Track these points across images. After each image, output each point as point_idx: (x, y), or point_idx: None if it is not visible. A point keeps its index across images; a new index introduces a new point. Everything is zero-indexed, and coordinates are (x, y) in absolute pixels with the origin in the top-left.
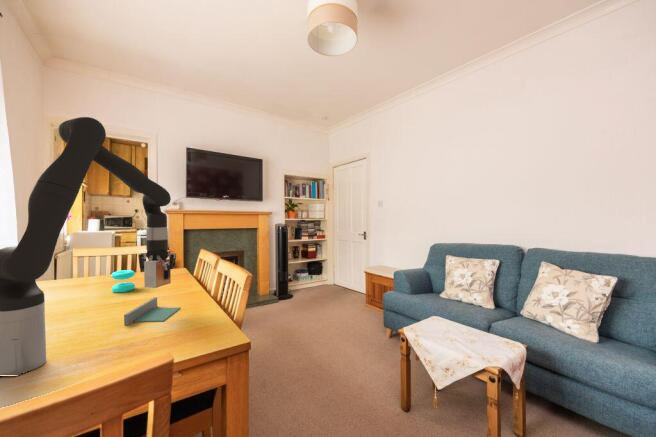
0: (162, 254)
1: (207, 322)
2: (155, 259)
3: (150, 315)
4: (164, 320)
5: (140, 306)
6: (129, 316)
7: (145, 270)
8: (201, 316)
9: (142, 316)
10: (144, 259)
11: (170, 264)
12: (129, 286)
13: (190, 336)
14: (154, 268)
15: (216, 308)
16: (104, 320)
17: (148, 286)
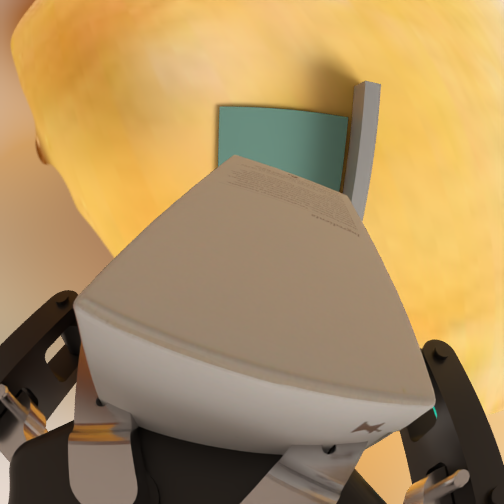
0: (54, 494)
1: (76, 109)
2: (216, 465)
3: (305, 171)
4: (220, 115)
5: (358, 192)
6: (361, 96)
7: (371, 270)
8: (107, 157)
9: (335, 164)
10: (424, 468)
11: (42, 323)
12: (434, 408)
13: (91, 17)
14: (182, 229)
15: (97, 230)
16: (457, 165)
17: (308, 181)
